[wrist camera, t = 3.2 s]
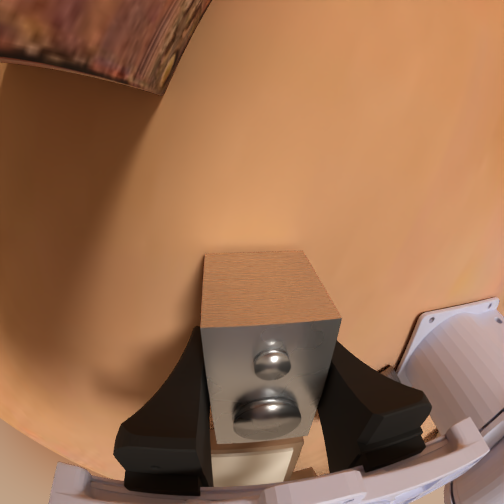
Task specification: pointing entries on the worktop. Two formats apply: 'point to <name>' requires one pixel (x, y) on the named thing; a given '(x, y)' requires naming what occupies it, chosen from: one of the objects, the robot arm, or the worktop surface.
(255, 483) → the stand
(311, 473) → the walnut block
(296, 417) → the housing
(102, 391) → the worktop surface
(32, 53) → the book
